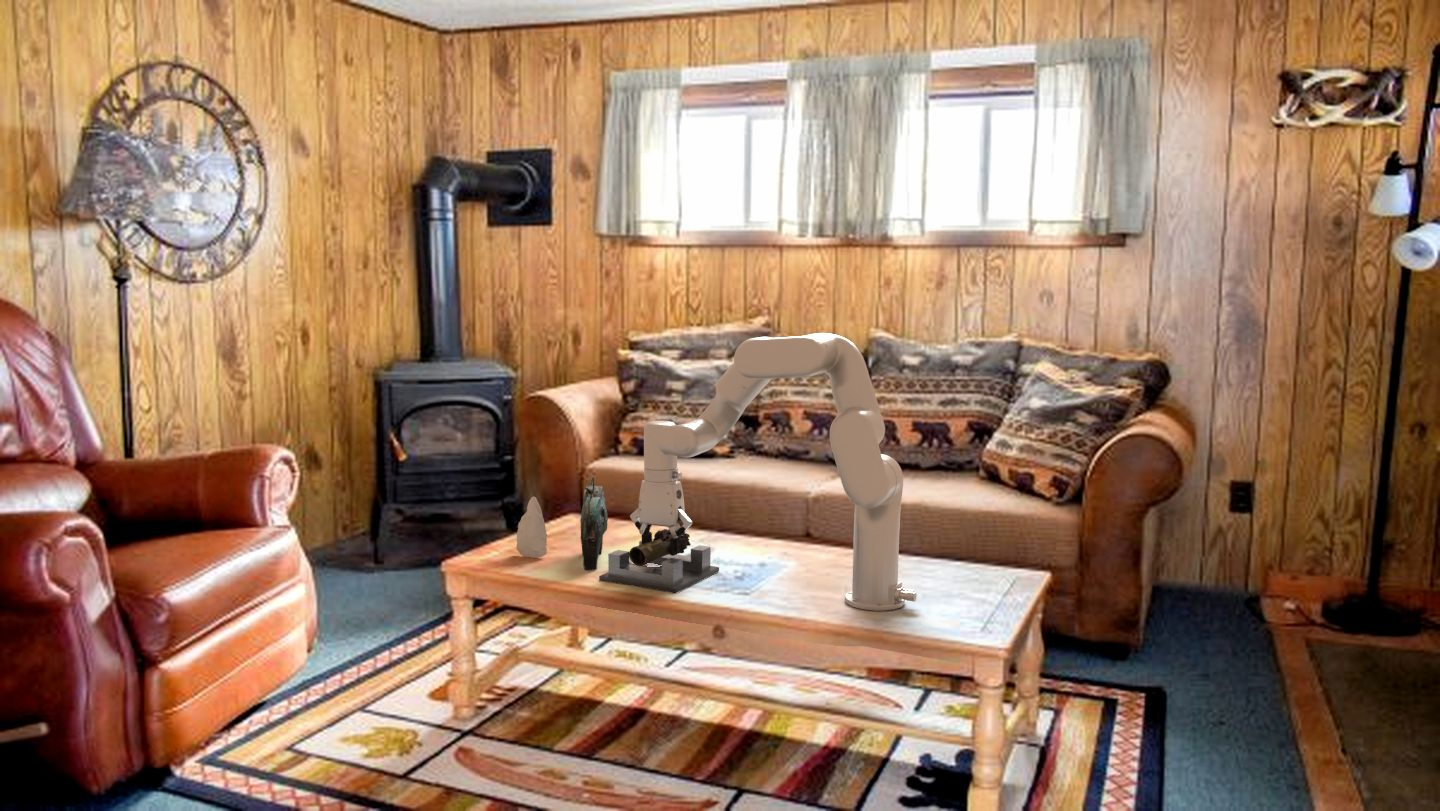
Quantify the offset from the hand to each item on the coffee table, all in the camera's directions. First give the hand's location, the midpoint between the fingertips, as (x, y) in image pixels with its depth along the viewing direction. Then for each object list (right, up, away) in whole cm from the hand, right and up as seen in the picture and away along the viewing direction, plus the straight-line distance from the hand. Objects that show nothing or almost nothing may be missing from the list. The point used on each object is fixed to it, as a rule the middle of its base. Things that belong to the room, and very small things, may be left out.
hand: (661, 551), depth 249 cm
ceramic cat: (-17, -4, +14) cm, 22 cm away
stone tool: (-32, -4, +17) cm, 37 cm away
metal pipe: (0, -2, 0) cm, 2 cm away
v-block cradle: (0, -6, +1) cm, 6 cm away
